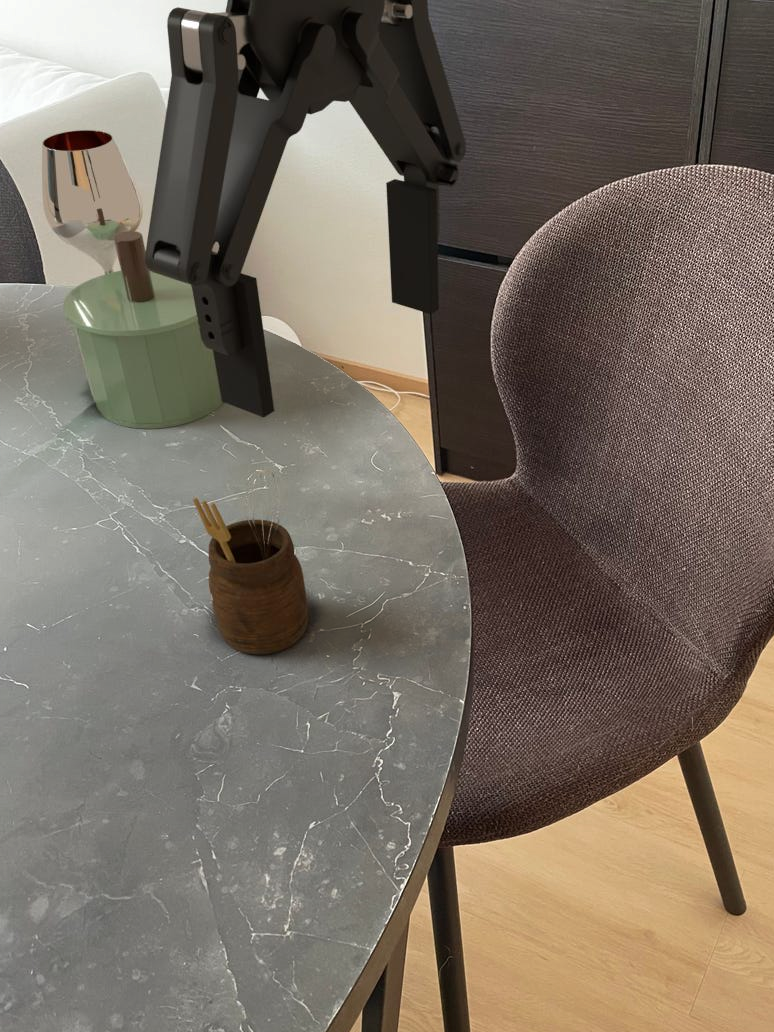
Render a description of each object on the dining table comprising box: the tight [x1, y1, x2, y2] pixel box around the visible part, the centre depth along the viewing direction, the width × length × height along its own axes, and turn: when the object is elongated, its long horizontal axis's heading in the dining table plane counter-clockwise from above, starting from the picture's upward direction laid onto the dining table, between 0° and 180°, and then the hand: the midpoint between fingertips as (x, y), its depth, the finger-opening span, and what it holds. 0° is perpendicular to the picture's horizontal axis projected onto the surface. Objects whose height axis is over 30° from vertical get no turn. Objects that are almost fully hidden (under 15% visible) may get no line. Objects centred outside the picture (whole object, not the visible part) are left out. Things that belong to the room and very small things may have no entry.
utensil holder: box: [192, 468, 309, 655], centre depth 65 cm, size 6×6×12 cm
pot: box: [72, 321, 224, 430], centre depth 89 cm, size 11×11×8 cm
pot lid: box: [62, 231, 198, 336], centre depth 84 cm, size 12×12×6 cm
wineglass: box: [41, 129, 144, 275], centre depth 93 cm, size 8×8×18 cm
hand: (338, 353), depth 54 cm, fingers open, 13 cm apart
